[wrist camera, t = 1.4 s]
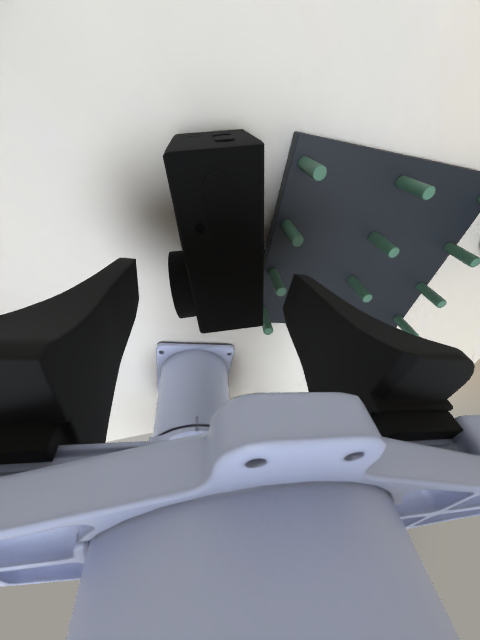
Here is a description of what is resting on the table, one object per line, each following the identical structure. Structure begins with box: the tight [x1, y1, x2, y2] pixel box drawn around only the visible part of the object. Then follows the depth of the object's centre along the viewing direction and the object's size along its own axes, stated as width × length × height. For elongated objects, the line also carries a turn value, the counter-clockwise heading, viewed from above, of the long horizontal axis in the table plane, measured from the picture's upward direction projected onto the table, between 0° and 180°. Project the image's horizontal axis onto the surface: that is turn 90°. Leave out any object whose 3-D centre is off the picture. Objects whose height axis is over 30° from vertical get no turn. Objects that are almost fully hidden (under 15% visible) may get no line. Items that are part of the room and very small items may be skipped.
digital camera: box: [163, 129, 264, 333], centre depth 17 cm, size 10×5×7 cm, turn 3°
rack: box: [262, 132, 480, 336], centre depth 21 cm, size 15×16×4 cm
